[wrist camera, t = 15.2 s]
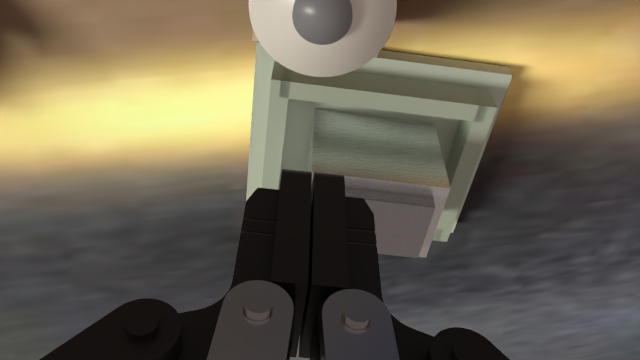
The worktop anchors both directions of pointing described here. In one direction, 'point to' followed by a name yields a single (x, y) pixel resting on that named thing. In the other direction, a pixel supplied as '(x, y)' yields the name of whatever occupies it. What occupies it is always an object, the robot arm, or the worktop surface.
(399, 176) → the grey boxy piece
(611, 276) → the worktop surface
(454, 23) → the worktop surface
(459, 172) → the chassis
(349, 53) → the wheel
